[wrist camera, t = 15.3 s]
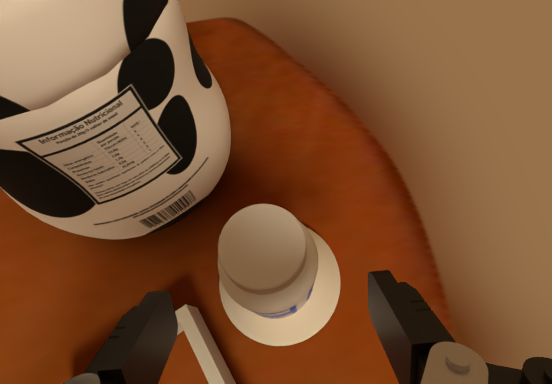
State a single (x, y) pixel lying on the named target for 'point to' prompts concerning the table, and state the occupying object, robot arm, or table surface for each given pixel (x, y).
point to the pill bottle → (267, 261)
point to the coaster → (305, 318)
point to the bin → (203, 345)
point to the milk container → (107, 115)
